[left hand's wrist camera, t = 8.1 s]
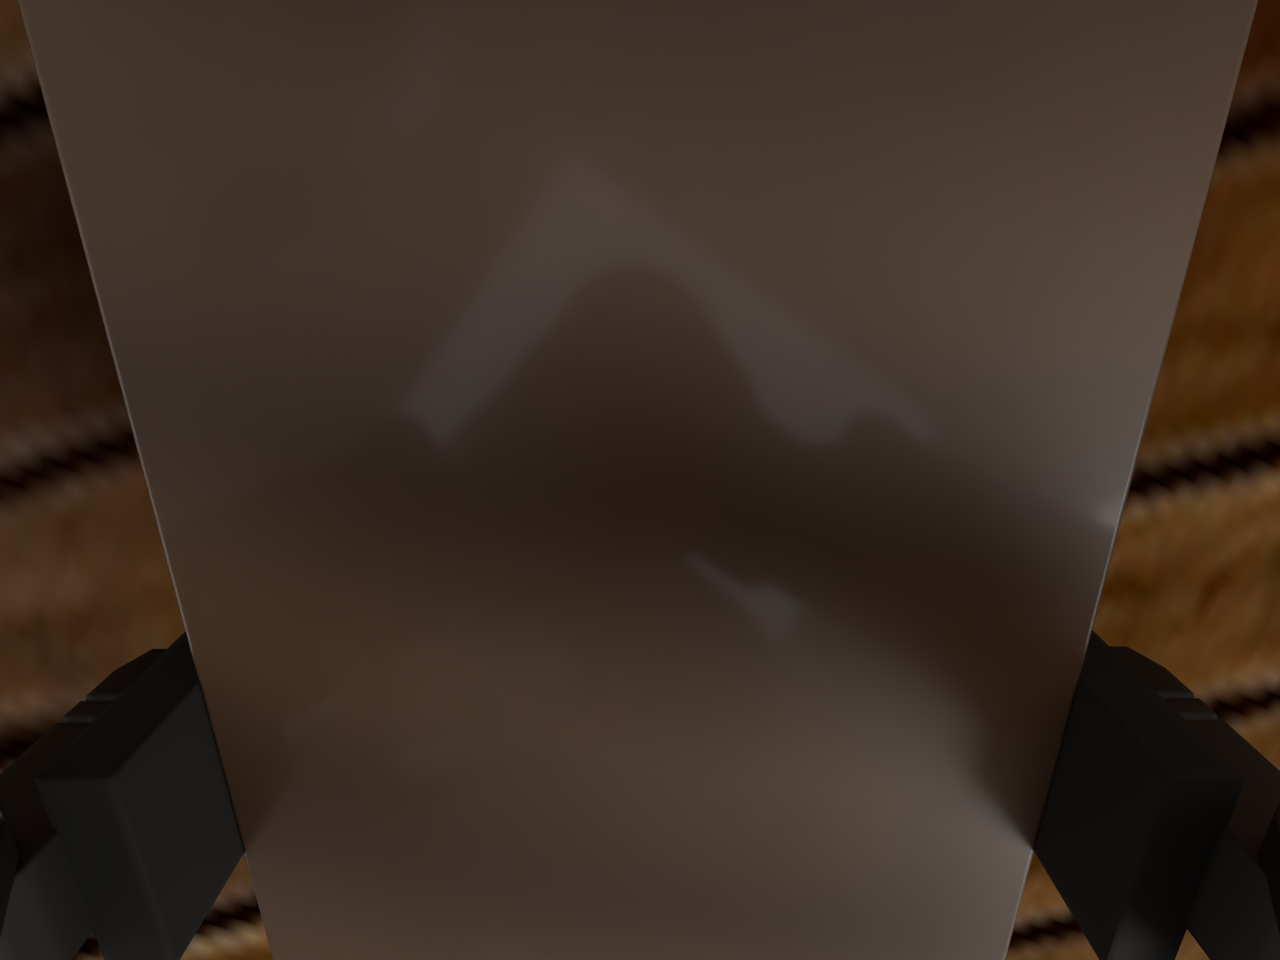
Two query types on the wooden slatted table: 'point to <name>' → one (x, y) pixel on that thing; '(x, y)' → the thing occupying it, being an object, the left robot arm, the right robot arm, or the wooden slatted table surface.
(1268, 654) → the wooden slatted table surface
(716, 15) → the cabinet
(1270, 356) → the wooden slatted table surface
